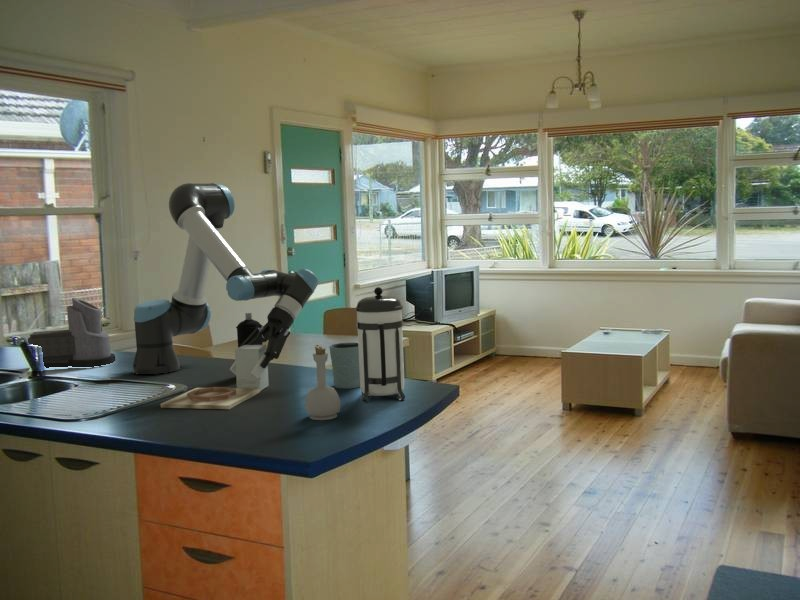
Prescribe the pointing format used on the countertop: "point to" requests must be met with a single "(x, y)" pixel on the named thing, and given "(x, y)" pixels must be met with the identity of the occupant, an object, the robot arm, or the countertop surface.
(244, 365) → the supplement box
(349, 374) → the teal cup
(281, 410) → the countertop surface
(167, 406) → the collar board
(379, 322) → the coffee press
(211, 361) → the countertop surface
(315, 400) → the potion bottle
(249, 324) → the aerosol can
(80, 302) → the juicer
